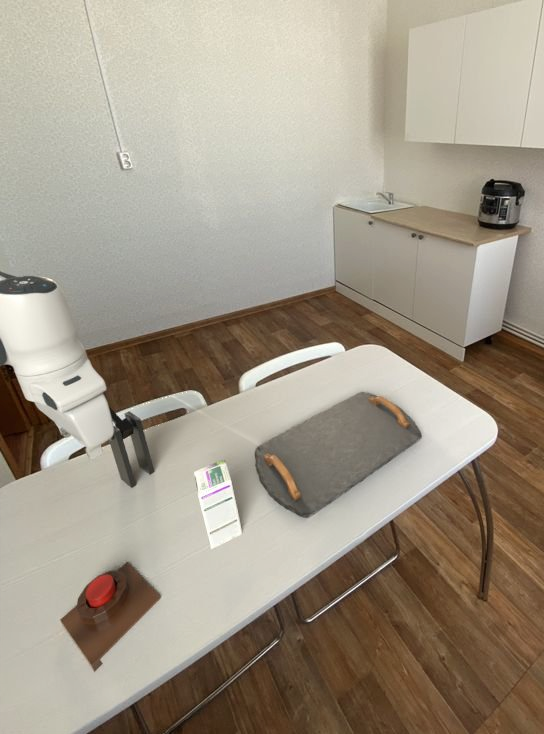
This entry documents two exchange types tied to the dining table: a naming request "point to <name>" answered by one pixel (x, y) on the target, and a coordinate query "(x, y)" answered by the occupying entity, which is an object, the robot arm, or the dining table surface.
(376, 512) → the dining table surface
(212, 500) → the syrup box
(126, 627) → the control block
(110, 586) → the button
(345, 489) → the serving tray
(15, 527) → the dining table surface
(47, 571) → the dining table surface
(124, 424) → the lever
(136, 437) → the bracket
